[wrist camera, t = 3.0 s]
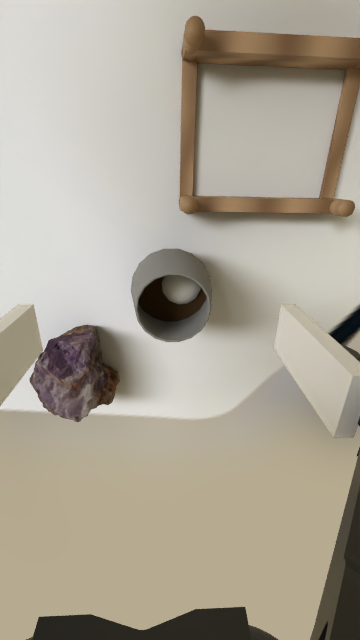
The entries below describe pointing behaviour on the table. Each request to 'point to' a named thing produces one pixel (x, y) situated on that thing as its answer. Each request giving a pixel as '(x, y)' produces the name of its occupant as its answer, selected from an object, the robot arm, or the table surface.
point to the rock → (73, 374)
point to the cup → (171, 295)
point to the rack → (277, 52)
